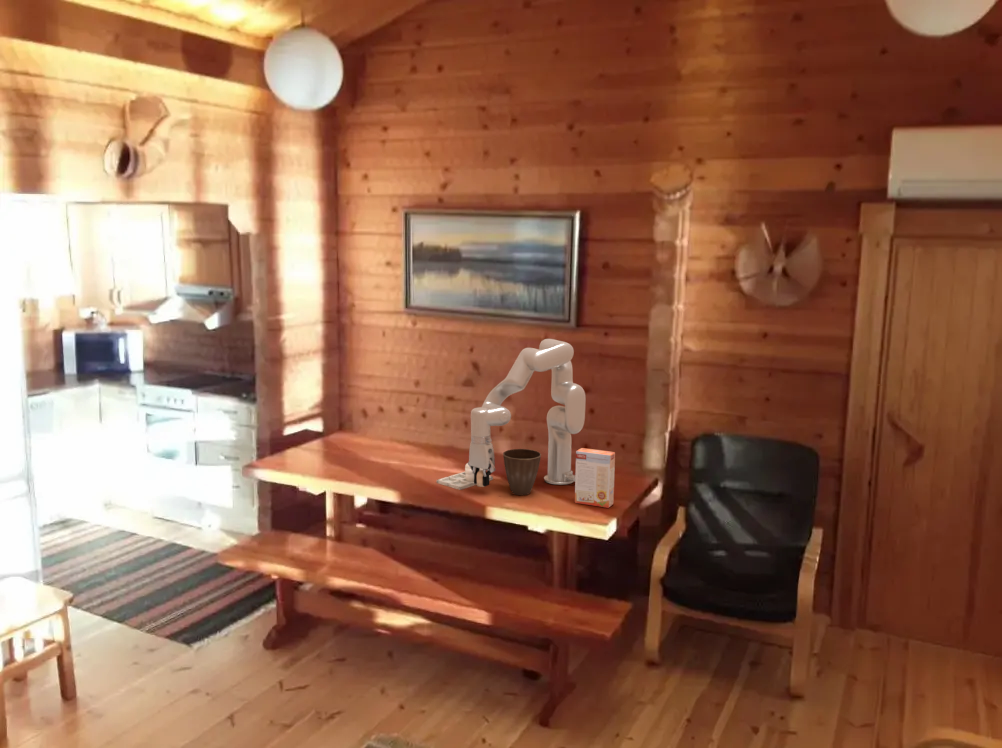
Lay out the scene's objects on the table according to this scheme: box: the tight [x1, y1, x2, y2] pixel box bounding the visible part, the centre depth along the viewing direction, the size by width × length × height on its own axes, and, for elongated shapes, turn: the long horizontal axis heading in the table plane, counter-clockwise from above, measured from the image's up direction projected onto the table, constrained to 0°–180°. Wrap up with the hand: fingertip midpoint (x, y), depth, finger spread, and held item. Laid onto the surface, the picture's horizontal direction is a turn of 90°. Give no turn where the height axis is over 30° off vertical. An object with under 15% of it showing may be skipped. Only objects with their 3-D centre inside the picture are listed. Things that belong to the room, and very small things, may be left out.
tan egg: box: [476, 470, 486, 488], centre depth 343 cm, size 4×4×6 cm
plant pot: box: [502, 448, 542, 496], centre depth 346 cm, size 15×15×16 cm
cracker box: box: [574, 447, 616, 509], centre depth 333 cm, size 14×6×21 cm, turn 63°
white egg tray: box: [436, 471, 494, 491], centre depth 358 cm, size 13×19×2 cm
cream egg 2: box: [465, 468, 474, 483], centre depth 355 cm, size 4×4×6 cm
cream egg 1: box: [464, 462, 471, 473], centre depth 364 cm, size 4×4×6 cm
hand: (481, 483), depth 343 cm, fingers closed on tan egg, 4 cm apart
